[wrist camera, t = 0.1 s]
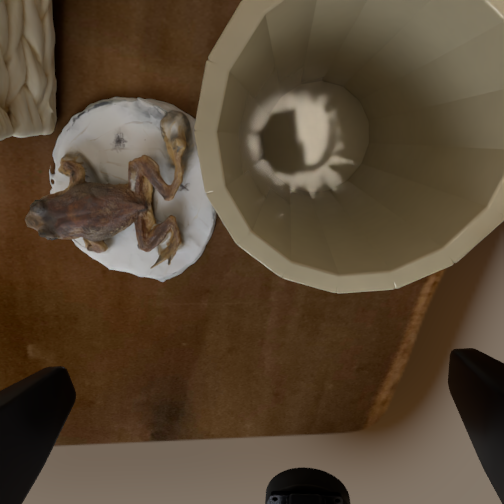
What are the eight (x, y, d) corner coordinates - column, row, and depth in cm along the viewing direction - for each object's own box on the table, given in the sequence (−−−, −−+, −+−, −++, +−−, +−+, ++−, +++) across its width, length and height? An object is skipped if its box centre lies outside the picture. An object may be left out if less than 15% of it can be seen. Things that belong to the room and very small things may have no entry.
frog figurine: (87, 292, 24) (52, 319, 20) (20, 122, 20) (-39, 119, 17) (236, 270, 22) (225, 296, 18) (191, 77, 18) (166, 63, 15)
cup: (376, 190, 19) (526, 281, 7) (263, 204, 20) (224, 302, 8) (374, 63, 17) (587, -128, 5) (248, 85, 18) (163, -28, 6)
